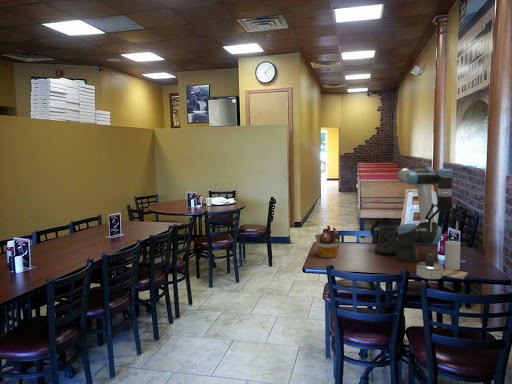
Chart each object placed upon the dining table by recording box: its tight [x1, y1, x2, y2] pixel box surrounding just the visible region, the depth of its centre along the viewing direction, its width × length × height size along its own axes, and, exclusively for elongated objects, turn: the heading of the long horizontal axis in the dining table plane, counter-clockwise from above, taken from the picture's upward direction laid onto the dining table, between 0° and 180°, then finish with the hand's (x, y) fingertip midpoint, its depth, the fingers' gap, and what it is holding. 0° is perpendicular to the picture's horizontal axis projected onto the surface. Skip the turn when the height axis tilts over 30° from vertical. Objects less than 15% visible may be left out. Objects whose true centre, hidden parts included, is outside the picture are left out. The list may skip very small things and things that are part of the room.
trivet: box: [443, 268, 469, 280], centre depth 235 cm, size 14×14×1 cm
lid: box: [416, 252, 444, 271], centre depth 232 cm, size 14×14×8 cm
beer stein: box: [369, 217, 398, 257], centre depth 283 cm, size 16×19×25 cm
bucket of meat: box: [314, 225, 341, 258], centre depth 280 cm, size 20×16×20 cm
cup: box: [444, 240, 461, 271], centre depth 246 cm, size 8×8×16 cm
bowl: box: [416, 266, 444, 280], centre depth 233 cm, size 13×13×5 cm
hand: (443, 232), depth 234 cm, fingers open, 13 cm apart
